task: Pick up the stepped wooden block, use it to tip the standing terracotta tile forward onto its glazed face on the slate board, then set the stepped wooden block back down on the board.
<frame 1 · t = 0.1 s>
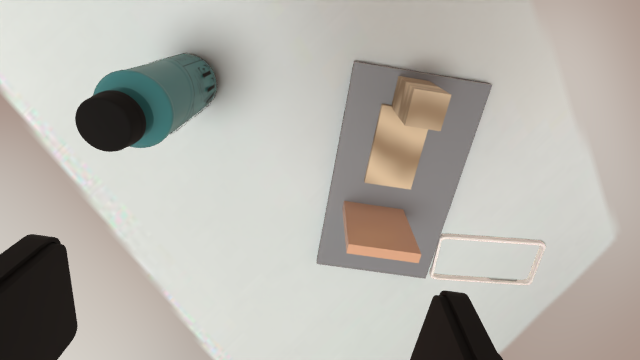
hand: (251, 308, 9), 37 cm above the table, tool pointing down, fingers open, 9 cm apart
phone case: (482, 255, 54), on the table
beverage bottle: (195, 79, 43), on the table
slate board: (393, 181, 48), on the table
stepped wooden block: (409, 94, 42), point 1 cm above the table, touching slate board
tile: (372, 209, 49), point 1 cm above the table, touching slate board
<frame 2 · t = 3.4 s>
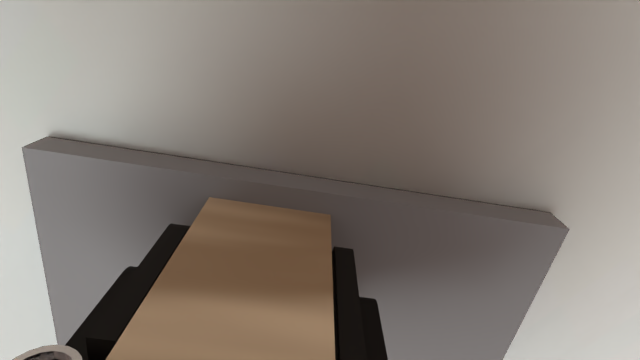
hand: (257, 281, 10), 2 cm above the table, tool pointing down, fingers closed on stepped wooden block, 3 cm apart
stepped wooden block: (264, 255, 12), point 1 cm above the table, touching gripper, slate board
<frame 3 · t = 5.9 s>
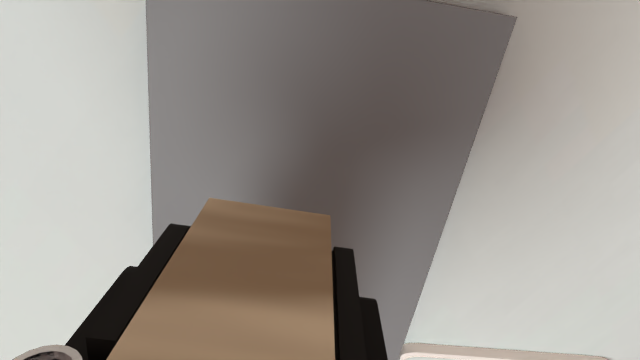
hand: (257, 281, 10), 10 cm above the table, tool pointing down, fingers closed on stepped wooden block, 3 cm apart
slate board: (294, 245, 22), on the table
stepped wooden block: (264, 256, 12), point 9 cm above the table, touching gripper
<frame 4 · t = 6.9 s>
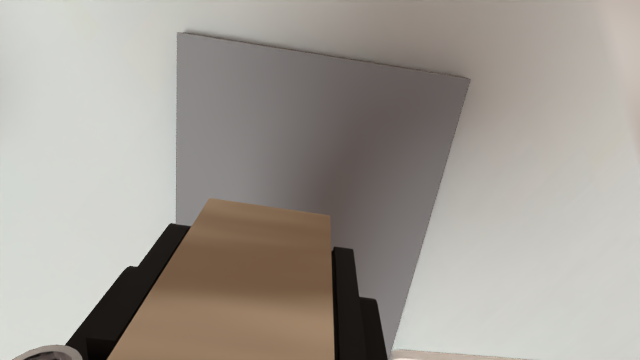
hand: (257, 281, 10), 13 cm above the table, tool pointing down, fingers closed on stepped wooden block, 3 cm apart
slate board: (295, 262, 26), on the table
stepped wooden block: (264, 256, 12), point 12 cm above the table, touching gripper
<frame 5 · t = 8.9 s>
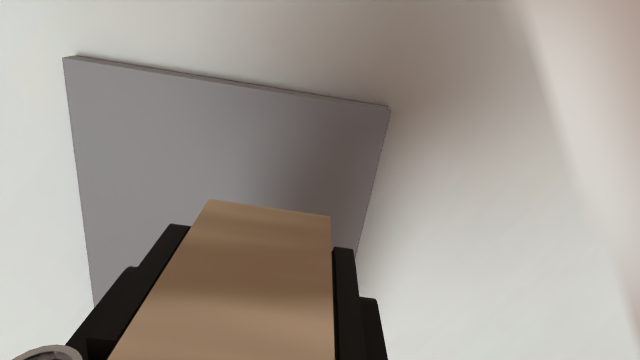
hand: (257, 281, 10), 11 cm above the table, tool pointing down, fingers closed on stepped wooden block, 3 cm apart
slate board: (222, 291, 25), on the table
stepped wooden block: (264, 257, 12), point 10 cm above the table, touching gripper
when the fingers open (3 cm above the table, at t = 10.6 s): stepped wooden block stays where it is, resting on slate board.
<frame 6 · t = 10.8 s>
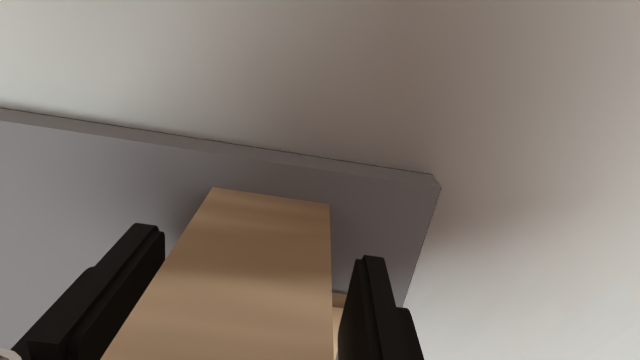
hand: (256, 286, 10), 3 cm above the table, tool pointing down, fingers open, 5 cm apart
stepped wooden block: (265, 244, 12), point 1 cm above the table, touching slate board
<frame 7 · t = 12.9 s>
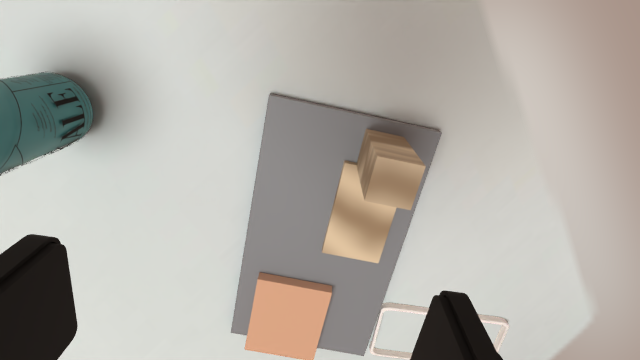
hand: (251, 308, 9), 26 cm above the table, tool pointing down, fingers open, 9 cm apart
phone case: (434, 329, 44), on the table
beverage bottle: (72, 104, 34), on the table
slate board: (323, 239, 39), on the table
stepped wooden block: (379, 151, 34), point 1 cm above the table, touching slate board
tile: (295, 282, 39), point 2 cm above the table, tilted 90°, touching slate board
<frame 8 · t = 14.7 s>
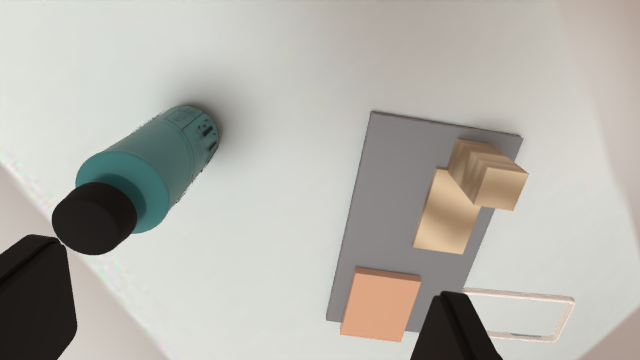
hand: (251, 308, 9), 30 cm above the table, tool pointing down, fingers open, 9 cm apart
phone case: (505, 309, 50), on the table
beverage bottle: (195, 129, 39), on the table
slate board: (411, 235, 44), on the table
stepped wooden block: (467, 157, 39), point 1 cm above the table, touching slate board
tile: (387, 274, 44), point 2 cm above the table, tilted 90°, touching slate board
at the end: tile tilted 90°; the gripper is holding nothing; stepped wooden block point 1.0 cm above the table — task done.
